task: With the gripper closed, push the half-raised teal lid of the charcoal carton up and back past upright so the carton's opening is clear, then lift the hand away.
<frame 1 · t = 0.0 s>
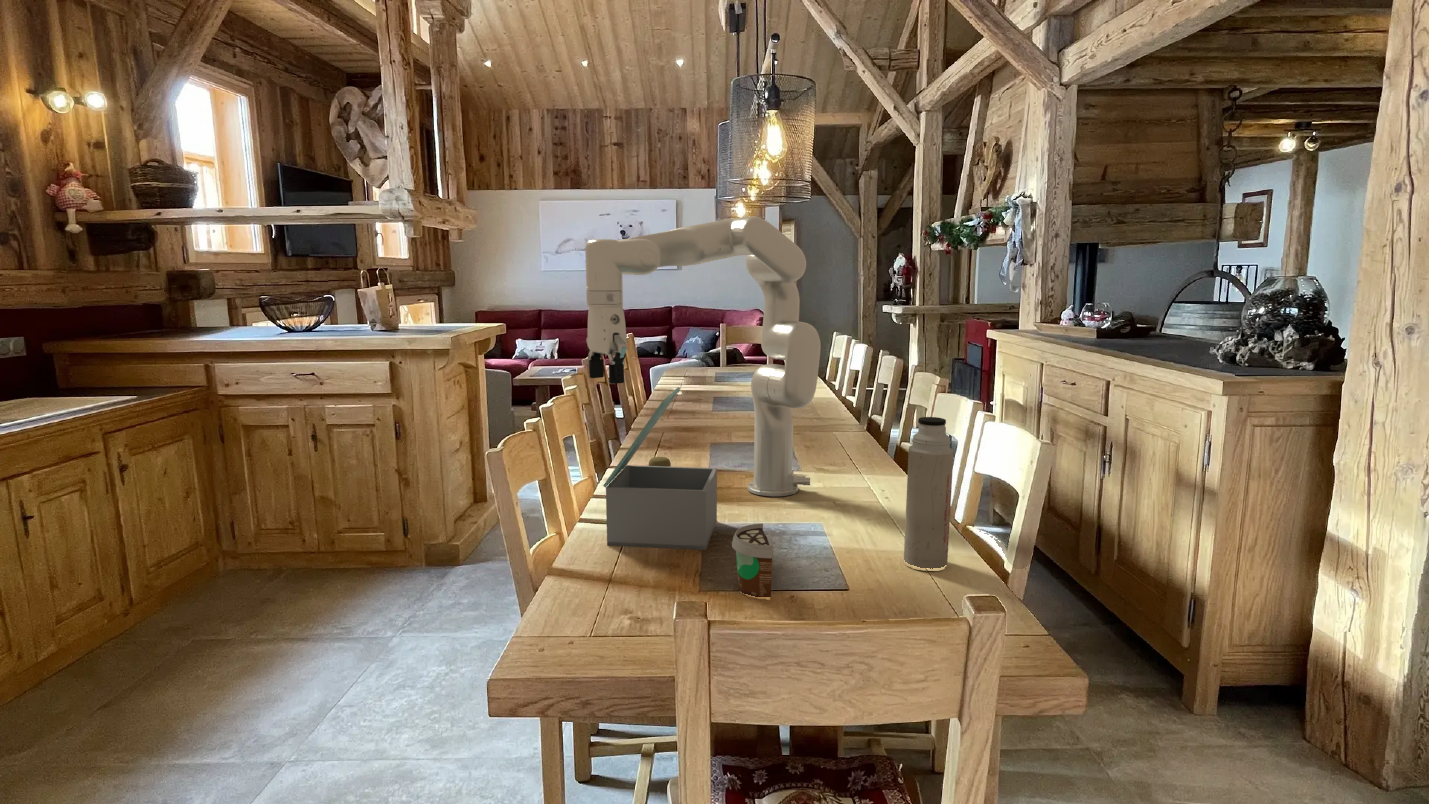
hand: (606, 380, 168), 31 cm above the table, tool pointing down, fingers open, 9 cm apart
food container: (749, 590, 137), on the table
thermos bottle: (925, 565, 149), on the table
cork: (659, 503, 187), on the table
lid: (643, 435, 163), point 21 cm above the table, hinge at 55.0°
carton: (664, 532, 166), on the table
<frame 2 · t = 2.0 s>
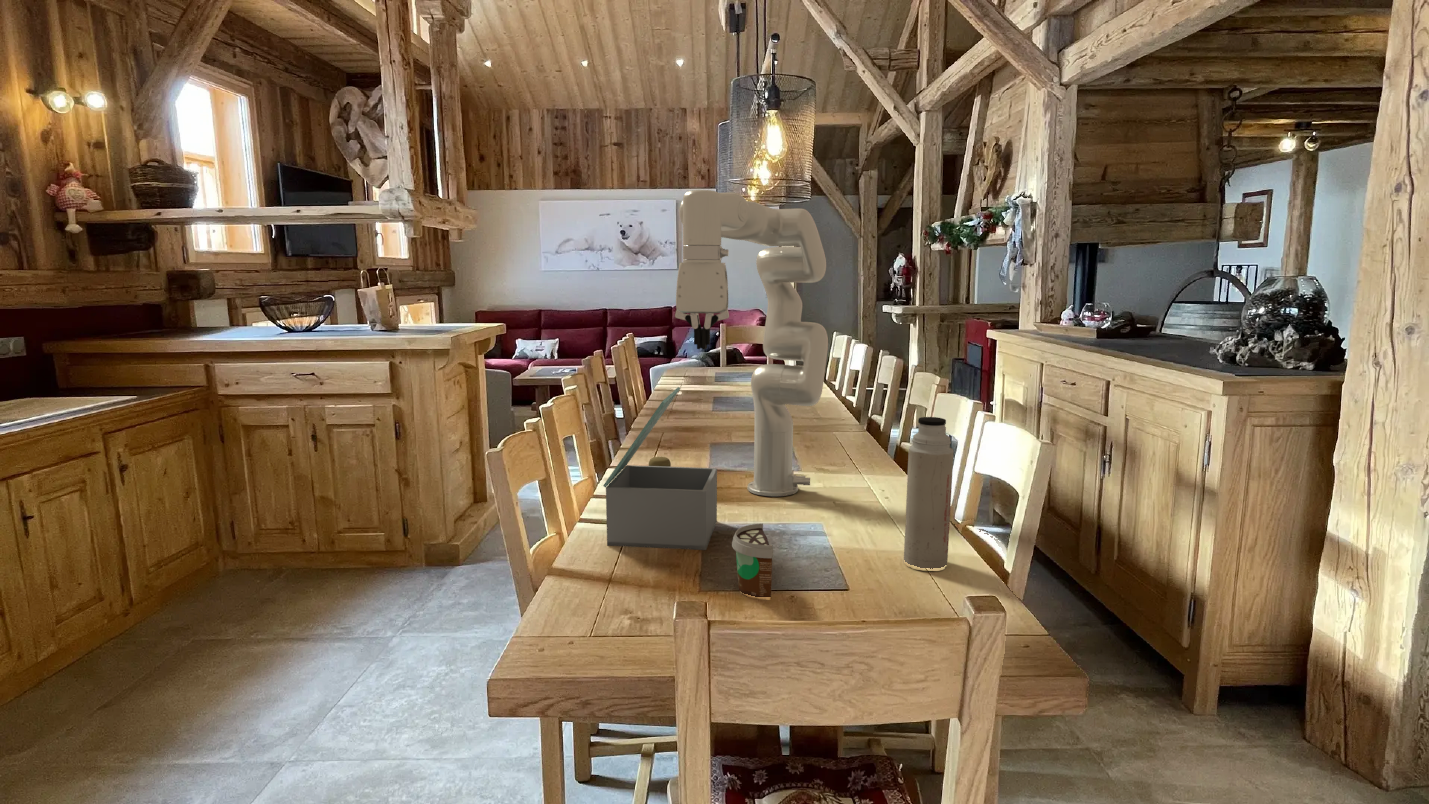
hand: (702, 348, 158), 39 cm above the table, tool pointing down, fingers closed
nothing on the table moved.
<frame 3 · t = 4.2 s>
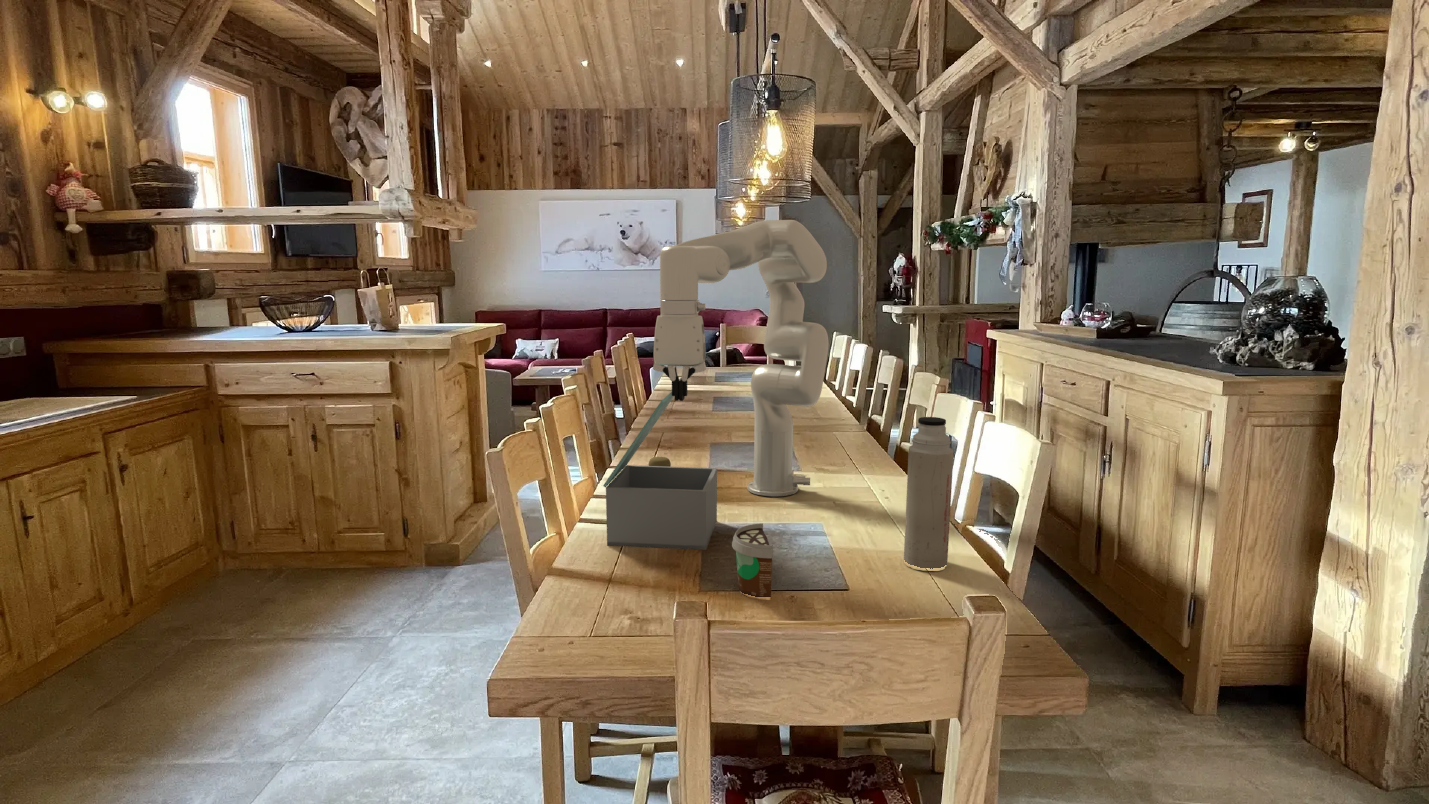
hand: (679, 399, 160), 28 cm above the table, tool pointing down, fingers closed
lid: (643, 434, 163), point 21 cm above the table, hinge at 55.6°, touching gripper
everything else where it was.
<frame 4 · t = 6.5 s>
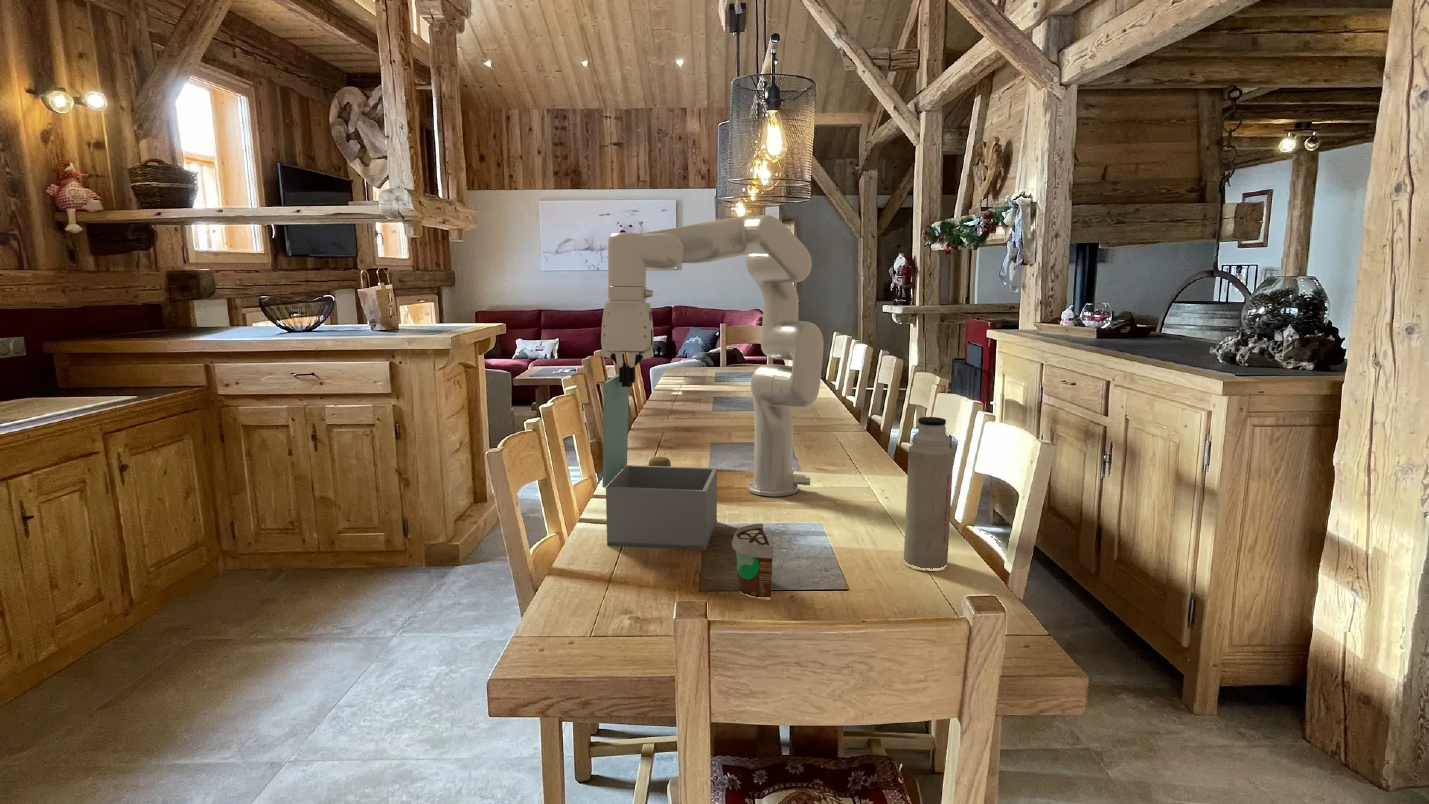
hand: (627, 386, 161), 31 cm above the table, tool pointing down, fingers closed
lid: (616, 426, 163), point 23 cm above the table, hinge at 87.9°, touching gripper
everything else where it was.
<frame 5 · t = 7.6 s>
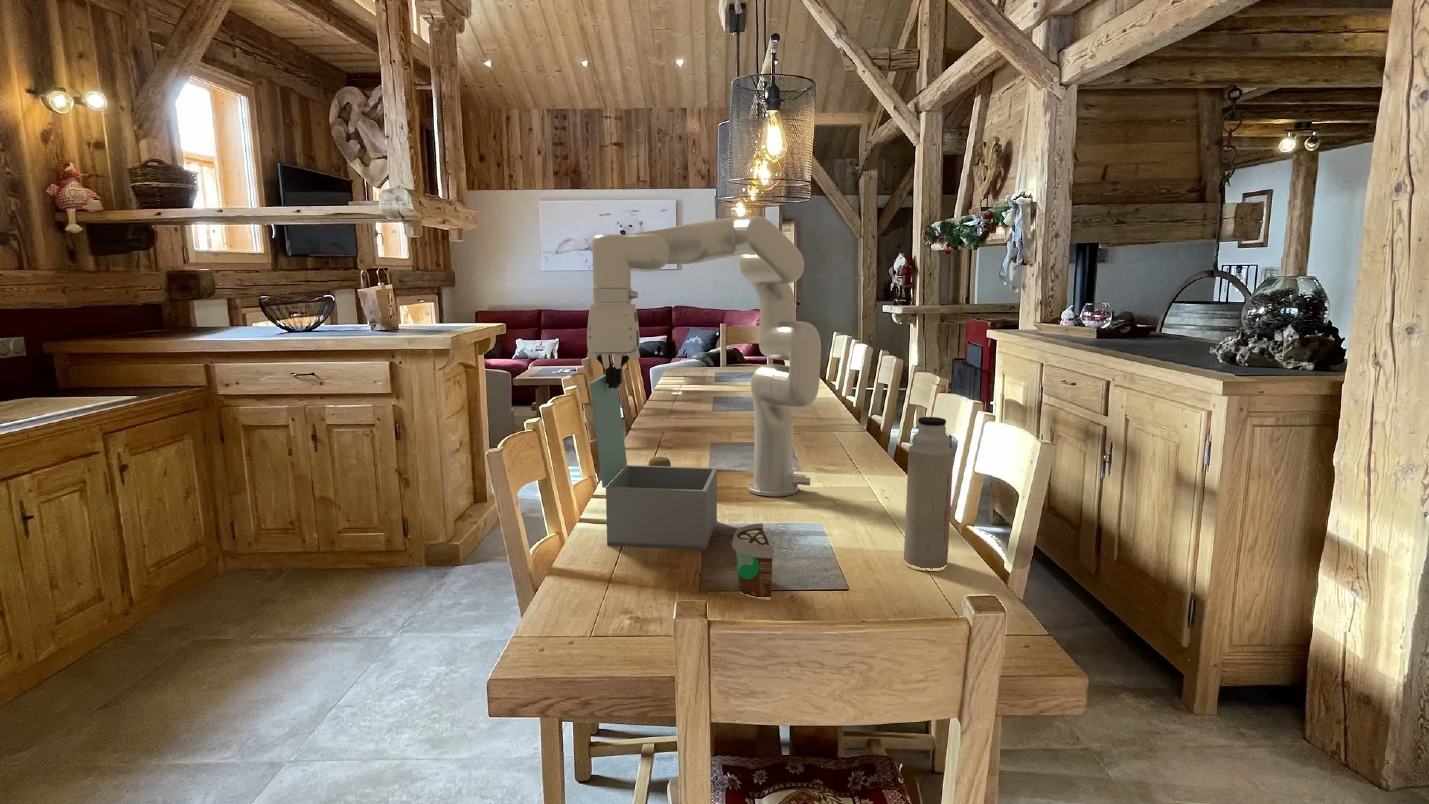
hand: (613, 387, 162), 31 cm above the table, tool pointing down, fingers closed
lid: (609, 426, 163), point 23 cm above the table, hinge at 95.9°, touching gripper
everything else where it was.
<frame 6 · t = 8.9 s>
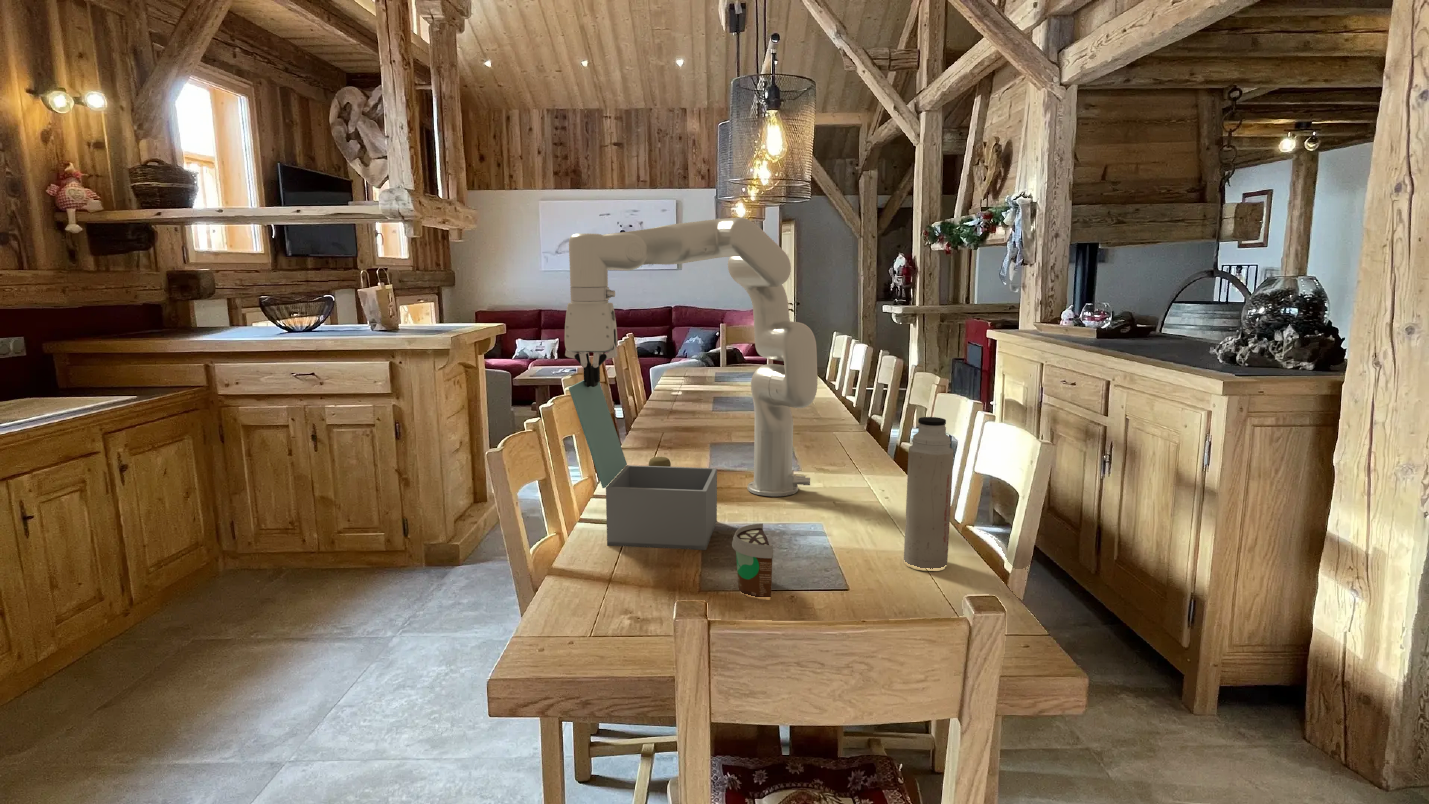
hand: (592, 385, 162), 31 cm above the table, tool pointing down, fingers closed
lid: (599, 428, 164), point 22 cm above the table, hinge at 107.7°, touching gripper
everything else where it was.
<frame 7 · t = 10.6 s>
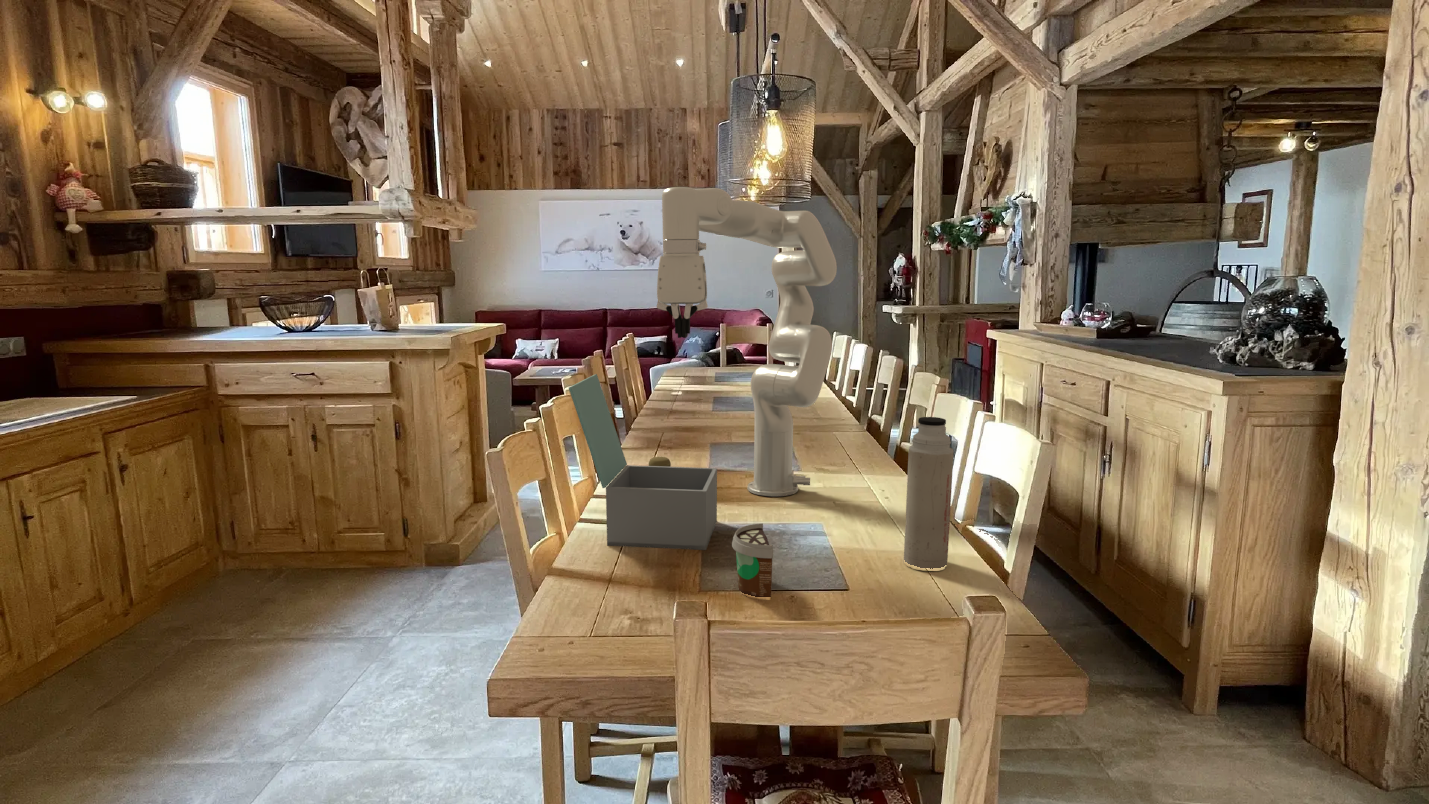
hand: (682, 337, 167), 40 cm above the table, tool pointing down, fingers closed
lid: (599, 428, 164), point 22 cm above the table, hinge at 107.7°
everything else where it was.
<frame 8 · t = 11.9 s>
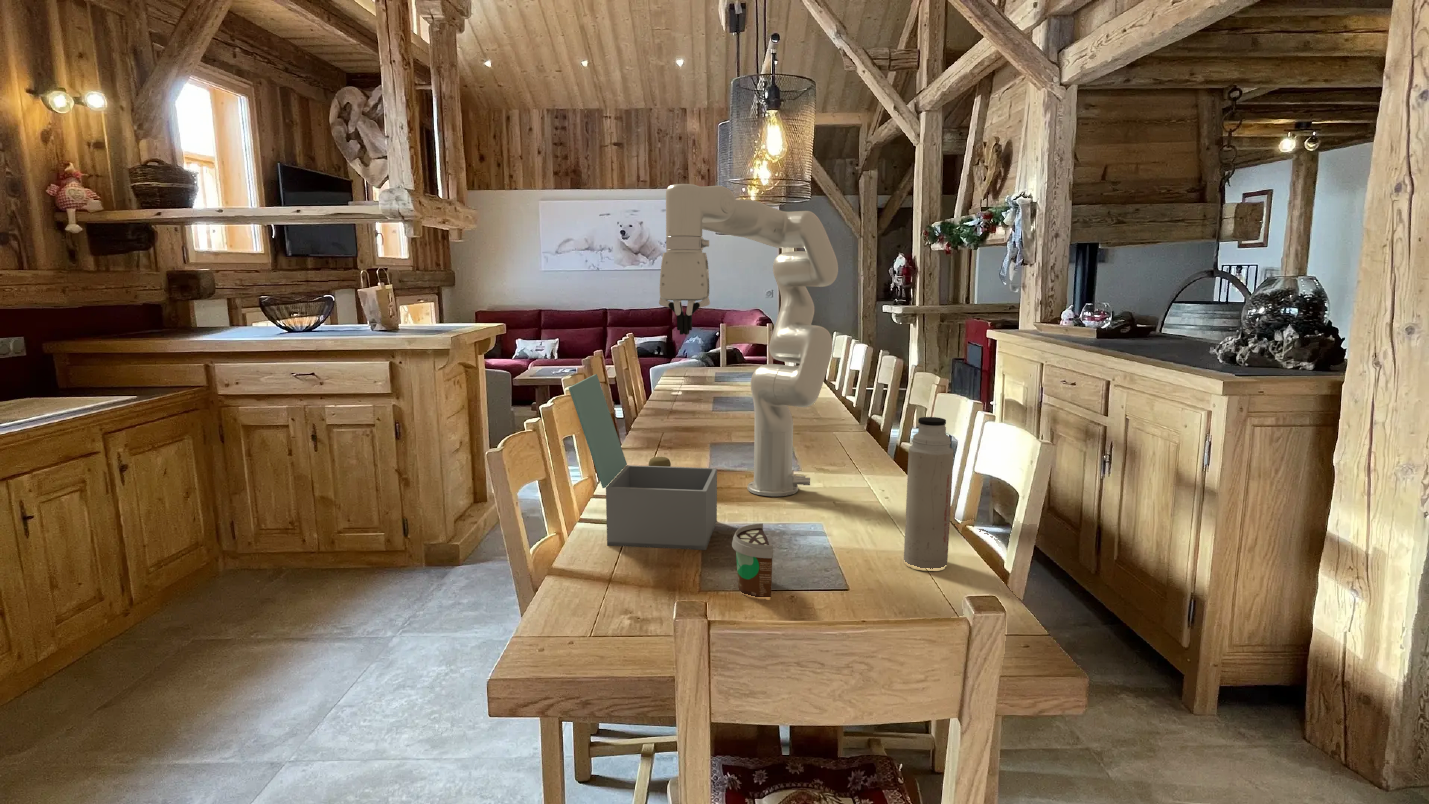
hand: (684, 333, 167), 41 cm above the table, tool pointing down, fingers closed
nothing on the table moved.
at the end: lid at +108° (first picture: +55°) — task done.
